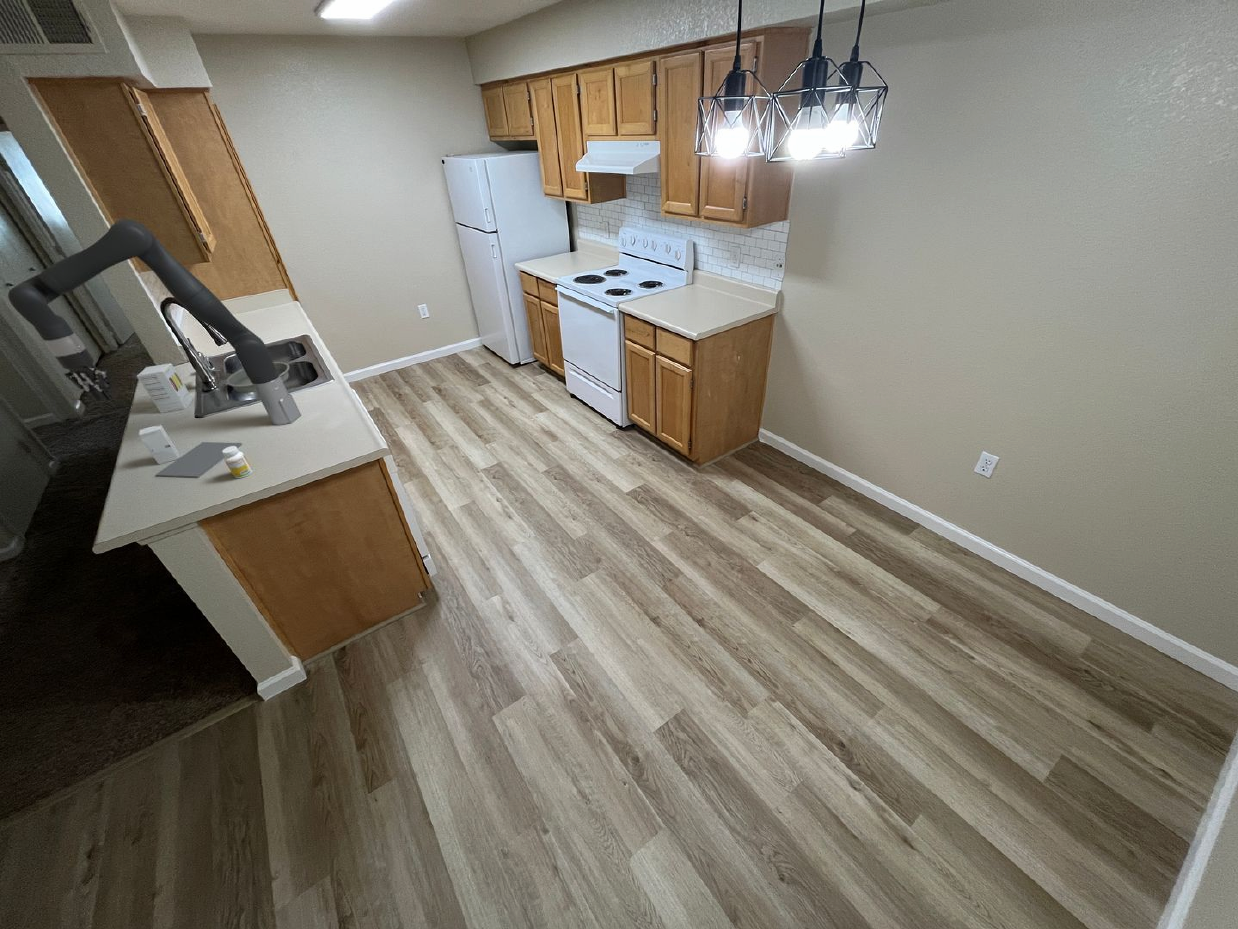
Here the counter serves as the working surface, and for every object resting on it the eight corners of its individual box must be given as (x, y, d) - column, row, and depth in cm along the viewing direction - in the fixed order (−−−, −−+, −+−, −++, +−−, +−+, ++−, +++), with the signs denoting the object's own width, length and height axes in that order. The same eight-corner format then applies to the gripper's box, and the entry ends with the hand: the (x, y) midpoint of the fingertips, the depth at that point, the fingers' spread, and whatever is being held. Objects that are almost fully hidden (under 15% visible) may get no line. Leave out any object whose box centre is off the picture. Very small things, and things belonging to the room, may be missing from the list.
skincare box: (158, 465, 175) (137, 435, 168) (159, 459, 178) (138, 429, 171) (179, 458, 178) (159, 429, 171) (180, 453, 181) (160, 423, 174)
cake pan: (294, 384, 223) (289, 375, 221) (229, 400, 214) (224, 391, 211) (292, 365, 241) (288, 357, 238) (232, 379, 232) (227, 370, 229)
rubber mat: (242, 444, 183) (241, 443, 183) (198, 477, 167) (197, 476, 167) (203, 443, 185) (202, 442, 185) (156, 476, 169) (155, 474, 169)
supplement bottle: (239, 469, 170) (225, 445, 164) (256, 468, 170) (242, 443, 164) (231, 479, 165) (215, 454, 159) (248, 477, 165) (233, 453, 160)
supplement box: (186, 409, 209) (162, 371, 200) (160, 413, 207) (135, 376, 197) (193, 399, 217) (171, 362, 207) (168, 403, 215) (145, 366, 205)
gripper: (37, 355, 154) (75, 405, 164) (76, 355, 152) (113, 406, 162) (62, 345, 160) (98, 394, 170) (100, 345, 158) (134, 394, 168)
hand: (105, 399), depth 166 cm, fingers open, 3 cm apart
